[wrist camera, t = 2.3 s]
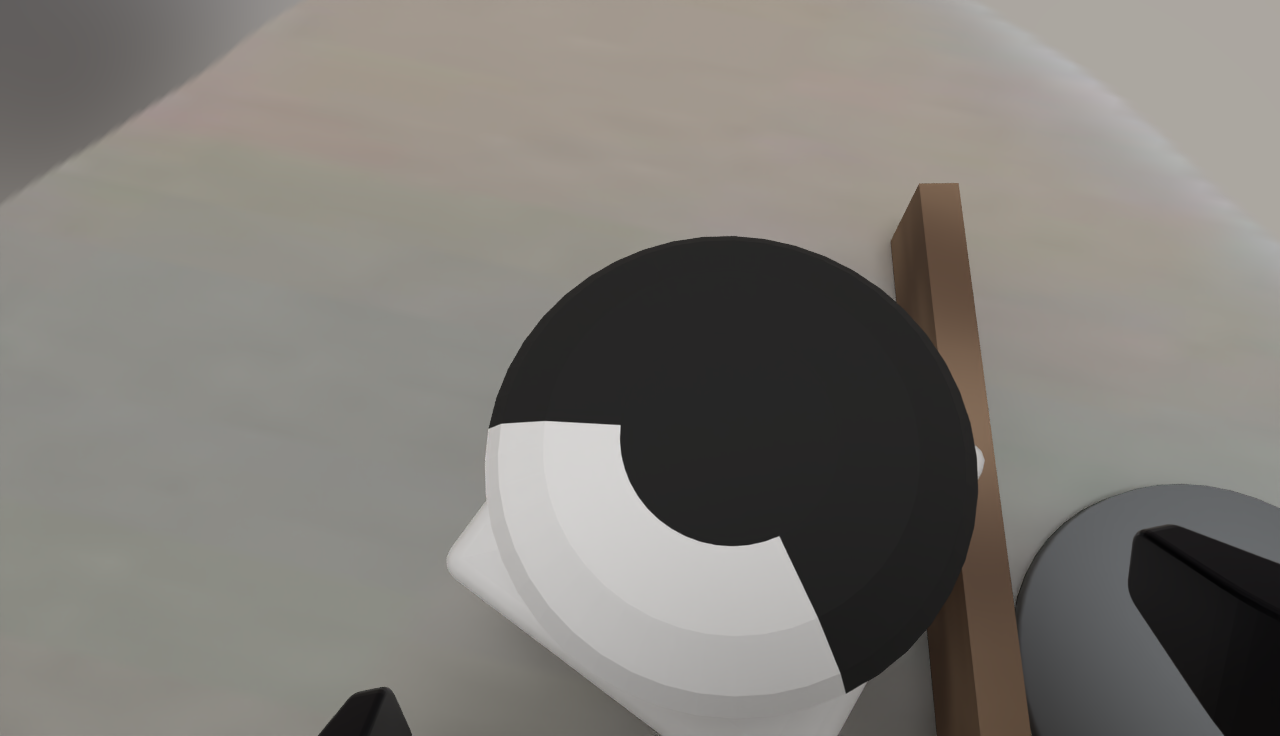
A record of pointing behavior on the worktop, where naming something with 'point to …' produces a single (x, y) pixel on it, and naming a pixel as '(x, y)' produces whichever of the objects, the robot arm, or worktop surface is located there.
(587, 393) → the medicine bottle
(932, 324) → the board
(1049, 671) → the mat
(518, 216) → the worktop surface
